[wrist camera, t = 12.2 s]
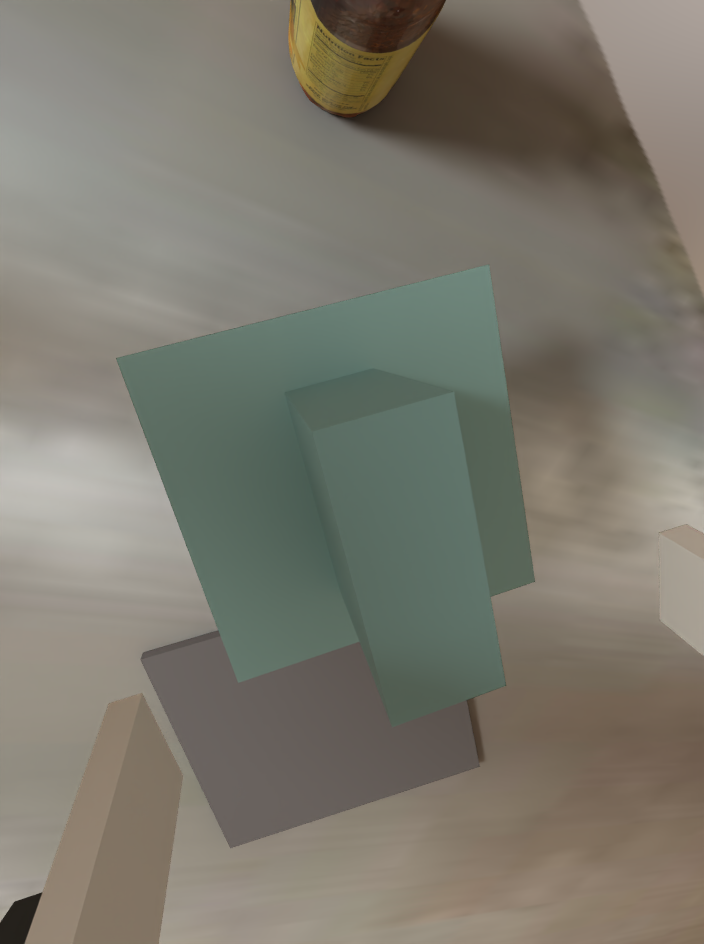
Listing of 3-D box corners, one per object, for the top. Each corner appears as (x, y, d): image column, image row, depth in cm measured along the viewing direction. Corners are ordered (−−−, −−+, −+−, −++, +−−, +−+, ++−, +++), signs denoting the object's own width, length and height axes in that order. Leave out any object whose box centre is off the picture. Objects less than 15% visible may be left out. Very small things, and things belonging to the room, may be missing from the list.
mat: (230, 839, 47) (230, 848, 47) (142, 652, 40) (140, 659, 39) (476, 759, 49) (479, 766, 48) (438, 565, 41) (441, 570, 41)
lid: (238, 667, 26) (236, 863, 17) (122, 356, 21) (26, 378, 12) (523, 571, 28) (668, 696, 19) (477, 267, 23) (642, 224, 14)
